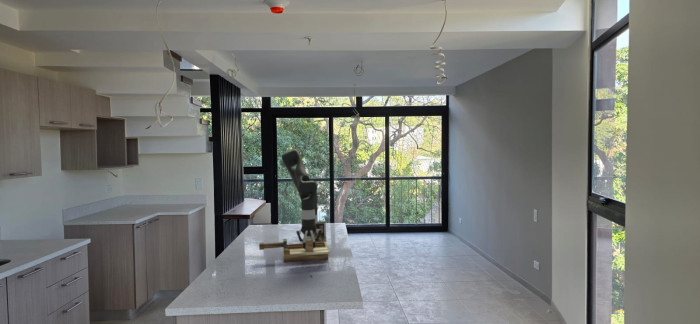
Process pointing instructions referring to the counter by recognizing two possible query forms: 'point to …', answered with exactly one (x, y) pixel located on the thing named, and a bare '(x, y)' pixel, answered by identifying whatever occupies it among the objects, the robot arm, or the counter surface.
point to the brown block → (270, 245)
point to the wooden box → (303, 257)
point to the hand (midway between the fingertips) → (309, 248)
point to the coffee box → (323, 231)
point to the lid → (309, 249)
